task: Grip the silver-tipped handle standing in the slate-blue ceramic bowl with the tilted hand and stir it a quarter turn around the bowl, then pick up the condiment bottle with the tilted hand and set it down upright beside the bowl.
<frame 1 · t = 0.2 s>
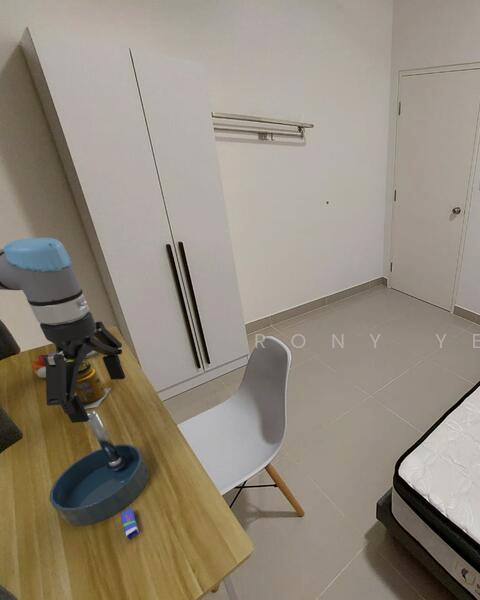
hand: (101, 398, 74), 22 cm above the table, tool pointing down, fingers open, 13 cm apart
rainbow petal flower: (57, 370, 112), on the table
travel mug: (88, 353, 120), on the table
silver-tipped handle: (111, 452, 79), point 7 cm above the table, hinge at 0.0°
eraser: (131, 526, 71), on the table
bowl: (107, 489, 78), on the table
condiment: (91, 399, 102), on the table
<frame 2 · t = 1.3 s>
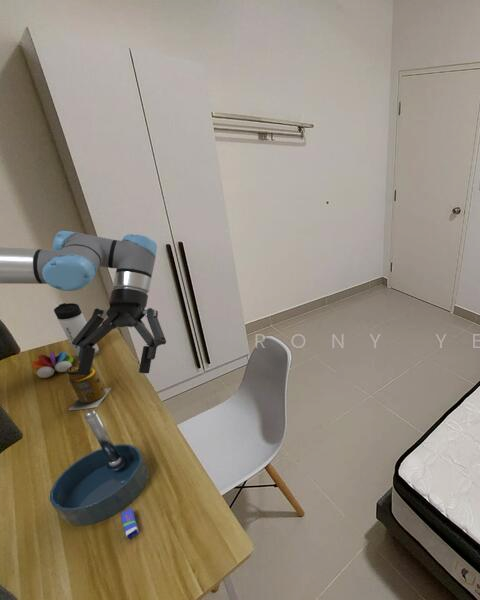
hand: (113, 374, 80), 23 cm above the table, tool tilted 45°, fingers open, 13 cm apart
nothing on the table moved.
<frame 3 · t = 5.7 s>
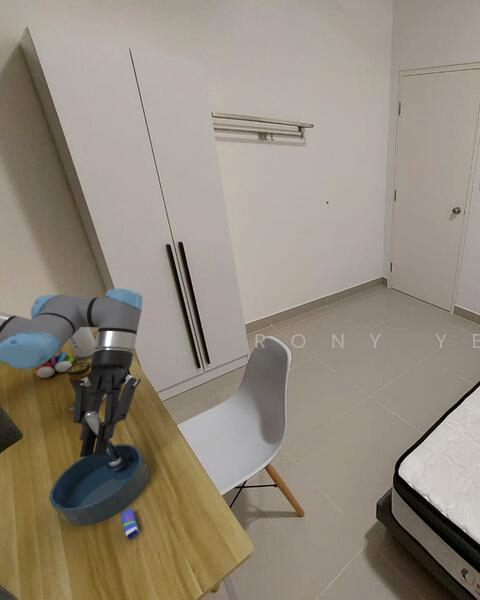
hand: (93, 455, 73), 11 cm above the table, tool tilted 45°, fingers closed on silver-tipped handle, 2 cm apart
silver-tipped handle: (111, 452, 79), point 7 cm above the table, hinge at 0.0°, touching gripper
everything else where it was.
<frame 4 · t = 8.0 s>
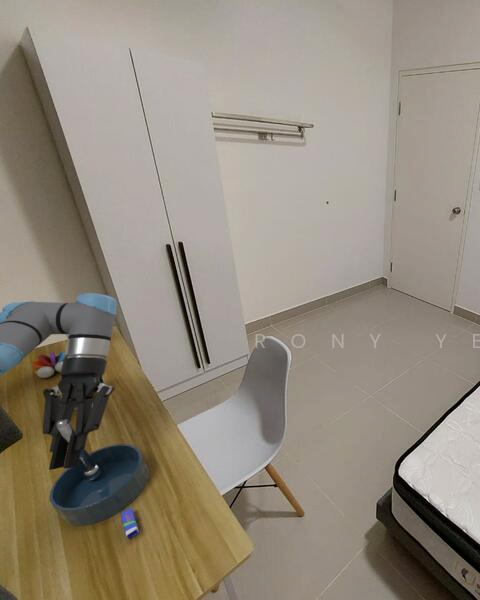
hand: (63, 467, 71), 11 cm above the table, tool tilted 45°, fingers closed on silver-tipped handle, 2 cm apart
silver-tipped handle: (85, 461, 76), point 7 cm above the table, hinge at 54.7°, touching gripper
everything else where it was.
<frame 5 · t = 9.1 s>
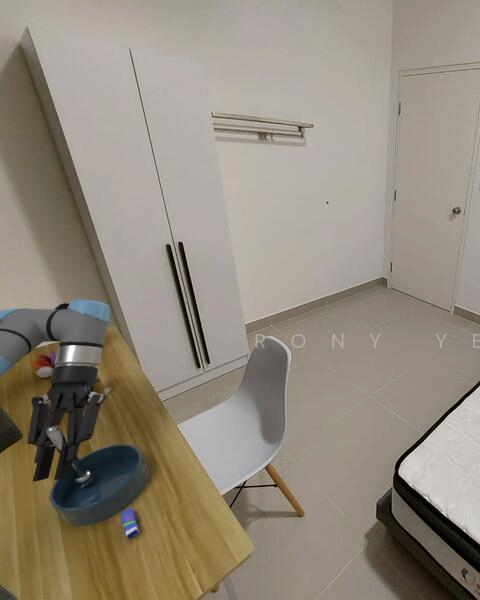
hand: (51, 478, 69), 11 cm above the table, tool tilted 45°, fingers open, 3 cm apart
silver-tipped handle: (77, 468, 75), point 7 cm above the table, hinge at 75.2°
everything else where it was.
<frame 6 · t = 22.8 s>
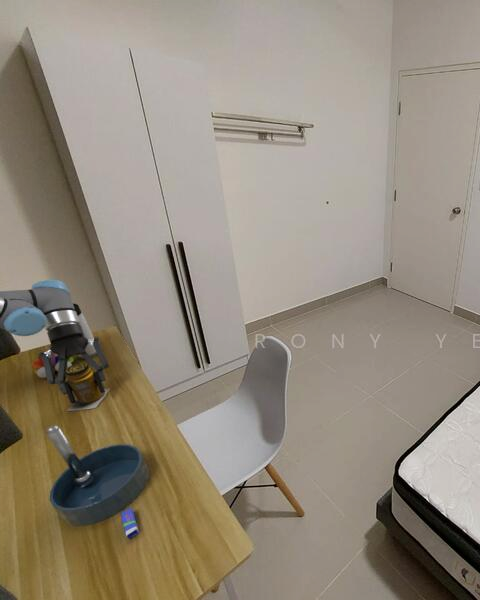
hand: (88, 397, 98), 4 cm above the table, tool tilted 45°, fingers closed on condiment, 6 cm apart
condiment: (90, 400, 101), on the table, touching gripper
everything else where it was.
when the fingers open (4 cm above the table, at t = 31.2 s): condiment stays where it is, on the table.
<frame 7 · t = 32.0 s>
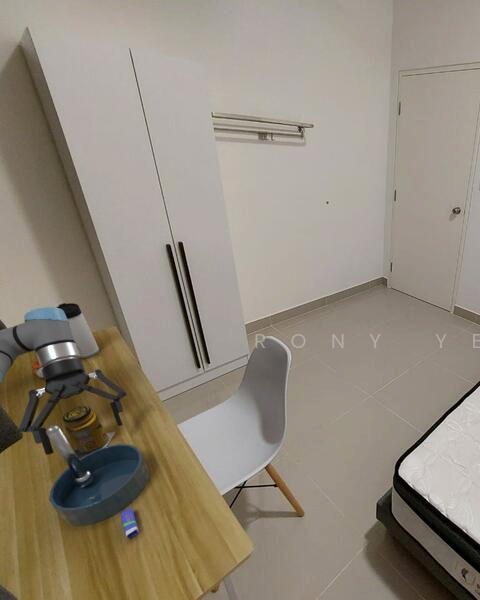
hand: (86, 438, 84), 5 cm above the table, tool tilted 45°, fingers open, 13 cm apart
condiment: (92, 447, 87), on the table
everything else where it was.
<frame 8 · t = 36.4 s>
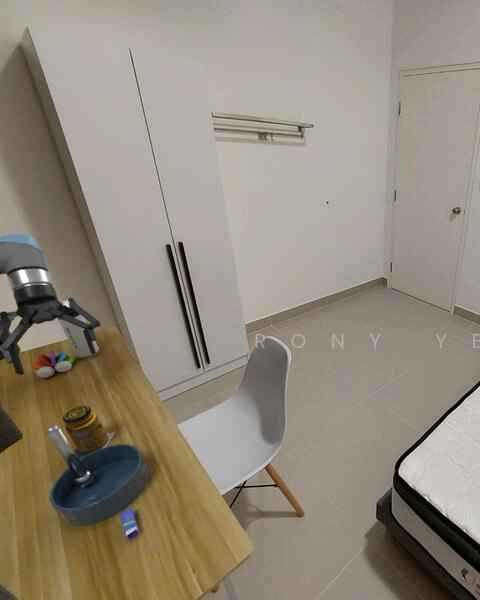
hand: (58, 362, 84), 22 cm above the table, tool tilted 45°, fingers open, 13 cm apart
nothing on the table moved.
at the end: silver-tipped handle reached +75° during the clip, +75° at the end; condiment inside the target area on the table beside the bowl (0.5 cm from its centre), on the table; condiment tilted 0° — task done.
